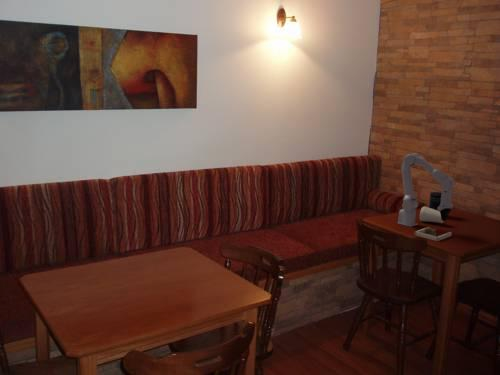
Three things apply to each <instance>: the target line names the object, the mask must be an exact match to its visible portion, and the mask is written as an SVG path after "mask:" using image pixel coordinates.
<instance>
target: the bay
mask: <svg viewBox="0 0 500 375" xmlns="http://www.w3.org/2000/svg"><path fill="white" fill-rule="evenodd" d="M426 228H432V227H431V226H427V227H424V228H421V229H418V230H416V231H414V234H413V235H414V236H417V237H420V238H424V239H428V240H430V241H431V240H432V241H435V242H439V241H441V240H445V239H447V238H450V237H451V236H452V235H453V234H452V233H453V232H451V231H449V232H446V233H444V234H440V235H438V236H436V237H435V236H432V235H428V234H425V229H426Z"/></svg>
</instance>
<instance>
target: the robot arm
mask: <svg viewBox="0 0 500 375" xmlns="http://www.w3.org/2000/svg"><path fill="white" fill-rule="evenodd" d="M414 166H422V167H423V168H424V169H425V170H427V171H428V172H429V173H431V176H432V178H434V179H435V180H436V181H437V182H438V183H440V185H441V193H442V194H441V203H440V206H439V207H438V209H437V210H439V211H440V214H441V220H442V221H444V222H446V221H447V220H448V217H449V214H450V213H451V212H452V209H453V207H454V203H452V197H453V187H454V185H455V182H456V181H455V179H454V178H453V177H452V176H451V177H450V176H449V175H447V174H446V173H444V172H443V169H440V168H436V167H434V166H433V165H432V164H431V163H429V162H428V161H427V160H426V159H425V158H424V156H423V155H421V154H419V153H418V152H413V153H409V154H406V155H405V156H404V157H403V160H402V164H401V166H400V169H401V170H400V171H401V176H402V183H403V192H404V197H403V198H402V201H403V203H402V205H401V206H402V209H400V210H399V211H398V212H399V213H398V219H397V220H398V221H397V224H399V225H402V226H406V227H410V228H412V227H415V226H418V223H416V214H417V208H418V206H419V201H418V200H417V196H416V195H415V193H414V185H413V178H412V177H413V176H412V171H411V169H412V168H413V167H414Z"/></svg>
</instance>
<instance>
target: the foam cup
mask: <svg viewBox="0 0 500 375" xmlns="http://www.w3.org/2000/svg"><path fill="white" fill-rule="evenodd" d="M419 221H421V222H423V223H424V222H427V223H435V224H436V223H438V224H439V223H440V224H443V223H444V222H445V221H442V220H441V214H440V211H437V210H434V209H431V208H429V206H425V205H424V206H422V207H421V209H420V211H419Z"/></svg>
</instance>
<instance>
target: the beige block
mask: <svg viewBox="0 0 500 375" xmlns="http://www.w3.org/2000/svg"><path fill="white" fill-rule="evenodd" d="M425 228H426V229H425V233H424V234H428V235H432V236H435V237H437V236H436V234H437V228H434V227H433V228H432V227H431V228H427V227H425Z"/></svg>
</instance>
